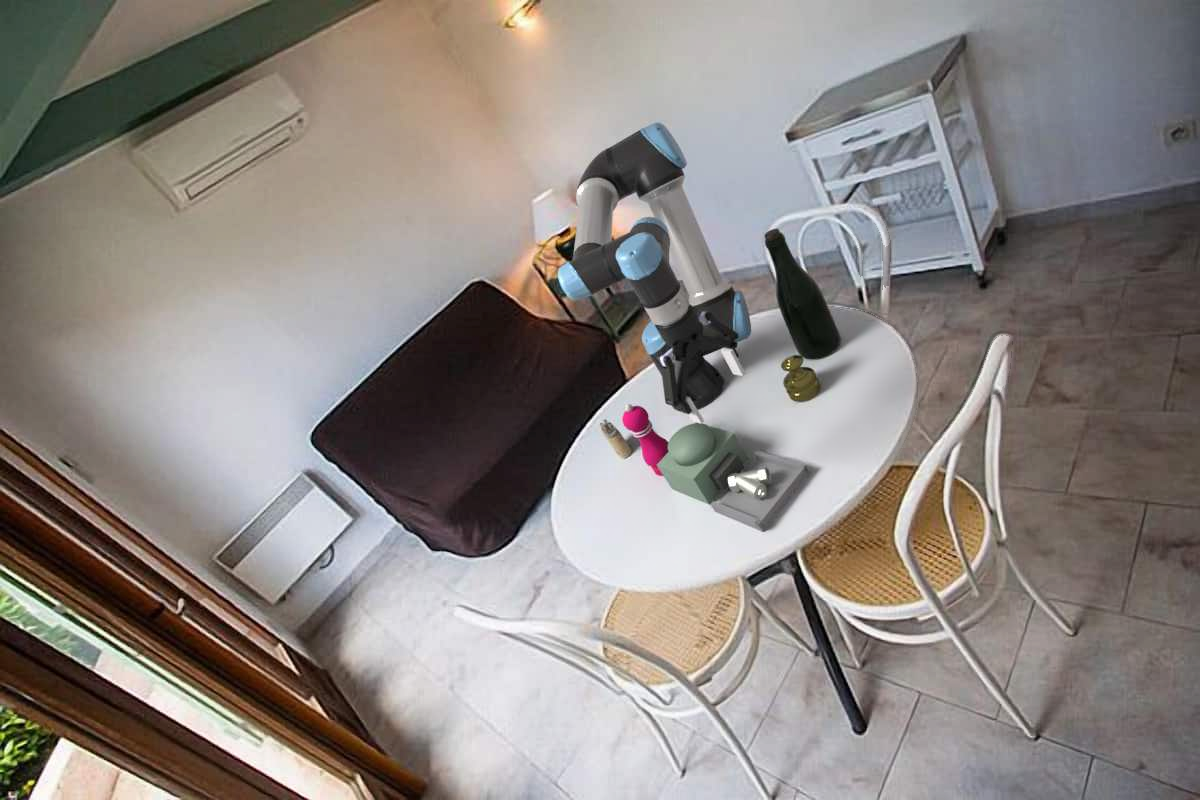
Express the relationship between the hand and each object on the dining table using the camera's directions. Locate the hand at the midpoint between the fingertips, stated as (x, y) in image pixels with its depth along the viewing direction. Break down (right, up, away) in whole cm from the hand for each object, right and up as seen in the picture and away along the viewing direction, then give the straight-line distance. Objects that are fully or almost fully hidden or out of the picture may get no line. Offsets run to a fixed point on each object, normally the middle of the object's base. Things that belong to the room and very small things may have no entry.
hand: (719, 397), depth 127 cm
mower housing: (+2, -17, +15) cm, 23 cm away
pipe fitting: (+8, -19, +4) cm, 21 cm away
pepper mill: (-8, -16, +26) cm, 31 cm away
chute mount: (+9, -19, +3) cm, 22 cm away
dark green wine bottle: (+30, +12, +30) cm, 45 cm away
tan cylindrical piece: (-17, -14, +39) cm, 45 cm away
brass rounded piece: (+24, +1, +20) cm, 31 cm away
